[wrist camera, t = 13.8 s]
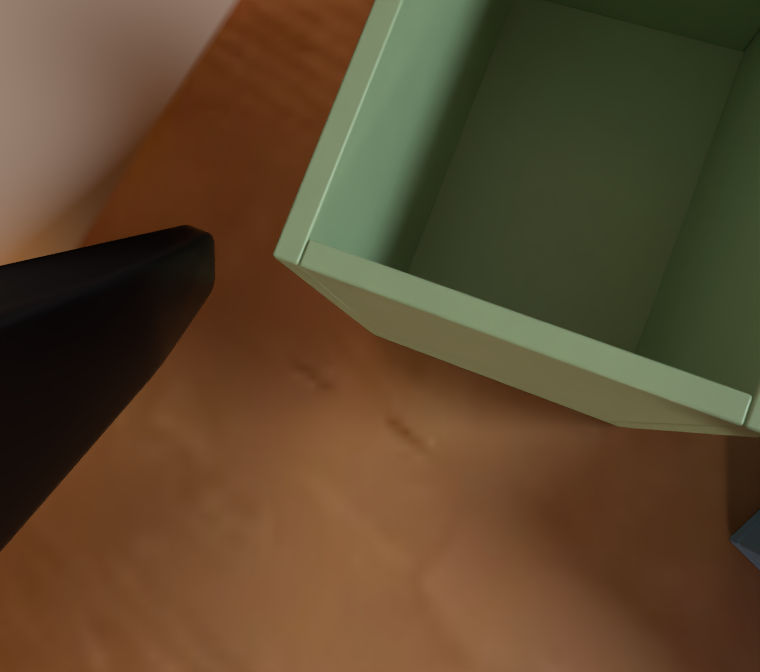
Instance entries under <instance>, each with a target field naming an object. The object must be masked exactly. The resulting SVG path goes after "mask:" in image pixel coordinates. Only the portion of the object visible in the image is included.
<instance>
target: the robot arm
mask: <svg viewBox="0 0 760 672" xmlns="http://www.w3.org/2000/svg"><path fill="white" fill-rule="evenodd" d="M214 281H215V251H214V239H213V237H212V235H211V234H210V233H208V232H206V231H203V230H201V229H198V228H195V227H192V226H189V225H182V226H178V227H173V228H169V229H164V230H160V231H155V232H151V233H146V234H142V235H137V236H133V237H128V238H124V239H119V240H115V241H110V242H106V243H101V244H97V245H92V246H88V247H83V248H78V249H74V250H69V251H65V252H60V253H56V254H51V255H47V256H43V257H38V258H33V259H29V260H24V261H20V262H16V263H11V264H6V265H2V266H0V552H1V551H2V549H3V548H4V547H5V546H6V545H7V544H8V542H9V541H10V540H11V539H12V538H13V537H14V536H15V534H16V533H17V532H18V531H19V530H20V529H21V527H22V526H23V525H24V524H25V523H26V522H27V521H28V519H29V518H30V517H31V516H32V515H33V514H34V512H35V511H36V510H37V509H38V508H39V507H40V506H41V504H42V503H43V502H44V501H45V500H46V499H47V497H48V496H49V495H50V494H51V493H52V492H53V491H54V489H55V488H56V487H57V486H58V485H59V484H60V482H61V481H62V480H63V479H64V478H65V477H66V476H67V474H68V473H69V472H70V471H71V470H72V469H73V467H74V466H75V465H76V464H77V463H78V462H79V461H80V459H81V458H82V457H83V456H84V455H85V454H86V452H87V451H88V450H89V449H90V448H91V447H92V445H93V444H94V443H95V442H96V441H97V440H98V439H99V437H100V436H101V435H102V434H103V433H104V432H105V430H106V429H107V428H108V427H109V426H110V425H111V424H112V422H113V421H114V420H115V419H116V418H117V417H118V415H119V414H120V413H121V412H122V411H123V410H124V409H125V407H126V406H127V405H128V404H129V403H130V402H131V400H132V399H133V398H134V397H135V396H136V395H137V394H138V392H139V391H140V390H141V389H142V388H143V387H144V385H145V384H146V383H147V382H148V381H149V380H150V378H151V377H152V376H153V375H154V374H155V372H156V371H157V370H158V369H159V367H160V366H161V365H162V363H163V362H164V361H165V359H166V358H167V357H168V355H169V354H170V352H171V351H172V349H173V348H174V346H175V345H176V343H177V342H178V340H179V339H180V337H181V336H182V335H183V333H184V332H185V330H186V329H187V327H188V326H189V324H190V323H191V321H192V320H193V318H194V317H195V315H196V314H197V313H198V311H199V310H200V308H201V307H202V305H203V304H204V302H205V301H206V299H207V298H208V296H209V295H210V293H211V291H212V289H213V286H214Z"/></svg>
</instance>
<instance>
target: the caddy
mask: <svg viewBox="0 0 760 672" xmlns="http://www.w3.org/2000/svg"><path fill="white" fill-rule="evenodd" d="M273 256H274V257H275V258H276V259H277V260H278V261H280V262H281V263H282V264H284V265H285V266H286V267H287V268H289V269H290V270H291V271H293V272H294V273H295V274H296V275H298V276H299V277H300V278H302V279H303V280H304V281H305V282H307V283H308V284H309V285H311V286H312V287H313V288H314V289H316V290H317V291H318V292H319V293H321V294H322V295H323V296H325V297H326V298H327V299H328V300H330V301H331V302H332V303H334V304H335V305H336V306H337V307H339V308H340V309H341V310H343V311H344V312H345V313H346V314H348V315H349V316H350V317H352V318H353V319H354V320H355V321H357V322H358V323H359V324H361V325H362V326H363V327H364V328H366V329H367V330H368V331H369V332H371V333H373V334H374V335H376V336H379V337H381V338H384V339H387V340H389V341H392V342H395V343H397V344H400V345H403V346H405V347H408V348H411V349H413V350H416V351H419V352H421V353H424V354H427V355H429V356H432V357H435V358H437V359H440V360H443V361H445V362H448V363H451V364H453V365H456V366H459V367H461V368H464V369H467V370H469V371H472V372H475V373H477V374H480V375H483V376H485V377H488V378H491V379H493V380H496V381H499V382H501V383H504V384H507V385H509V386H512V387H515V388H517V389H520V390H523V391H525V392H528V393H531V394H533V395H536V396H539V397H541V398H544V399H547V400H549V401H552V402H555V403H557V404H560V405H563V406H565V407H568V408H570V409H573V410H576V411H578V412H581V413H584V414H586V415H589V416H592V417H594V418H597V419H600V420H602V421H605V422H608V423H610V424H613V425H616V426H618V427H626V428H639V429H652V430H665V431H679V432H692V433H705V434H718V435H732V436H745V437H758V438H760V0H375V1H374V3H373V6H372V8H371V11H370V13H369V16H368V18H367V21H366V23H365V26H364V28H363V31H362V33H361V36H360V38H359V41H358V43H357V46H356V48H355V51H354V53H353V56H352V58H351V61H350V63H349V66H348V68H347V71H346V73H345V76H344V78H343V81H342V83H341V86H340V88H339V91H338V93H337V96H336V98H335V100H334V103H333V105H332V108H331V110H330V113H329V115H328V118H327V120H326V123H325V125H324V128H323V130H322V133H321V135H320V138H319V140H318V143H317V145H316V148H315V150H314V153H313V155H312V158H311V160H310V163H309V165H308V168H307V170H306V173H305V175H304V178H303V180H302V183H301V185H300V188H299V190H298V193H297V195H296V198H295V200H294V203H293V205H292V208H291V210H290V213H289V215H288V218H287V220H286V222H285V225H284V227H283V230H282V232H281V235H280V237H279V240H278V242H277V245H276V247H275V250H274V252H273Z"/></svg>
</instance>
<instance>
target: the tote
mask: <svg viewBox="0 0 760 672" xmlns="http://www.w3.org/2000/svg"><path fill="white" fill-rule="evenodd" d="M729 540H730V541H731V542H732V543H733V544H734V545H735V546H736V547H737V548H738V549H739V550H740V551H741V552H742V553H743V554H744V555H745V556H746V557H747V558H748V559H749V560H750V561H751V562H752V563H753V564H754V565H755V566H756V567H757V568H758V569H759V570H760V510H758V511H757V512H756V513H755V514H754V515H753V516H752V517H751V518H750V519H749V520H748V521H747V522H746V523H745V524H744V525H743V526H742V527H740V528H739V529H738V530H737V531H736V532H735V533H734V534H733V535H732V536H731V537H730V538H729Z"/></svg>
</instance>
